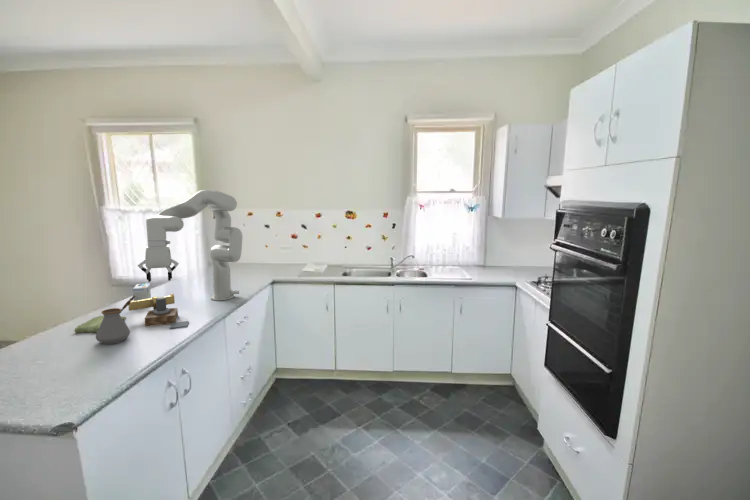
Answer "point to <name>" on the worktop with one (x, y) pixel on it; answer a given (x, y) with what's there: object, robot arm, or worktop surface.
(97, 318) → the washcloth
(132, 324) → the worktop surface
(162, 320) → the socket block
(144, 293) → the light bulb box
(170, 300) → the clip
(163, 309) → the plug
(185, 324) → the pad
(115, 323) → the coffee pot
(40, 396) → the worktop surface
